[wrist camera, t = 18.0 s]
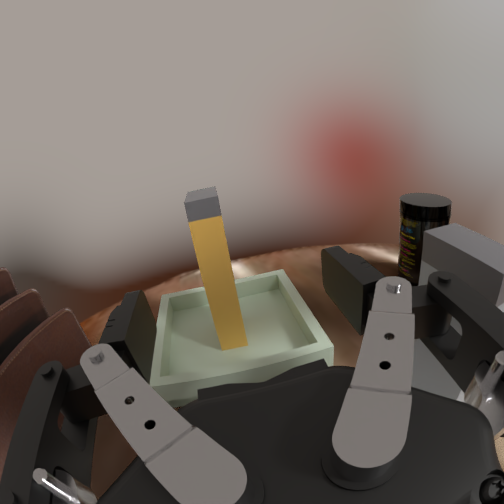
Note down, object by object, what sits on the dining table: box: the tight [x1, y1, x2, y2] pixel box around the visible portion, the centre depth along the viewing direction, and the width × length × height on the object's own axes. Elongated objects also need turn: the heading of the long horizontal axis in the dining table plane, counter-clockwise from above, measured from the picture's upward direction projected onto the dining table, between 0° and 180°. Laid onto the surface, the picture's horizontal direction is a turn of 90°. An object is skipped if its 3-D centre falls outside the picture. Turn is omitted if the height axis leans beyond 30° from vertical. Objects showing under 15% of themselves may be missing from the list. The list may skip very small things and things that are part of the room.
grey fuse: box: [411, 223, 504, 402], centre depth 12 cm, size 2×5×14 cm, turn 11°
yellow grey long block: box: [184, 187, 248, 351], centre depth 25 cm, size 2×5×14 cm, turn 10°
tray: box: [150, 269, 334, 408], centre depth 28 cm, size 15×15×3 cm
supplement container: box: [397, 193, 452, 286], centre depth 31 cm, size 7×7×10 cm
